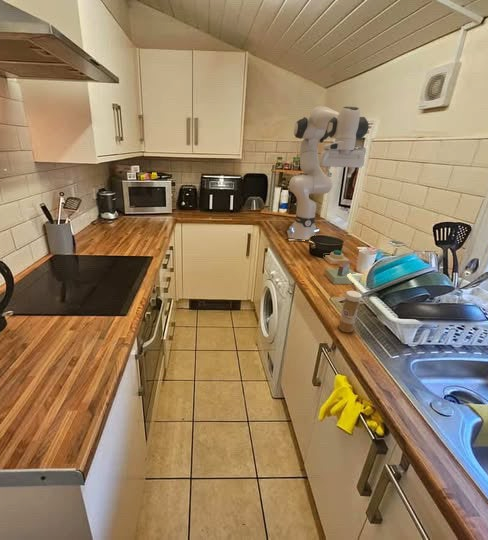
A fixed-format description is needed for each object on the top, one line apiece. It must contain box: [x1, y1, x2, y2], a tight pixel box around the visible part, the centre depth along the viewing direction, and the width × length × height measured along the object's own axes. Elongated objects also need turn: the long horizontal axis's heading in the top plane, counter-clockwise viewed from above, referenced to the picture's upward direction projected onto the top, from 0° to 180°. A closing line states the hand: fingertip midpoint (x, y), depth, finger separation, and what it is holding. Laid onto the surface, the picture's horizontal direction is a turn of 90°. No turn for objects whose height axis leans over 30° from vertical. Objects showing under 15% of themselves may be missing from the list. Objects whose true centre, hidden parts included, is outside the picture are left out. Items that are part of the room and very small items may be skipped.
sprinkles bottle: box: [338, 290, 363, 333], centre depth 97 cm, size 5×5×14 cm
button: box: [333, 249, 342, 255], centre depth 156 cm, size 4×4×2 cm
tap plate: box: [324, 267, 357, 285], centre depth 136 cm, size 12×12×3 cm
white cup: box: [355, 248, 378, 274], centre depth 144 cm, size 8×8×10 cm
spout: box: [337, 262, 351, 276], centre depth 135 cm, size 8×2×4 cm, turn 138°
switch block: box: [322, 251, 351, 265], centre depth 157 cm, size 10×10×4 cm
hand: (338, 177), depth 144 cm, fingers open, 8 cm apart
